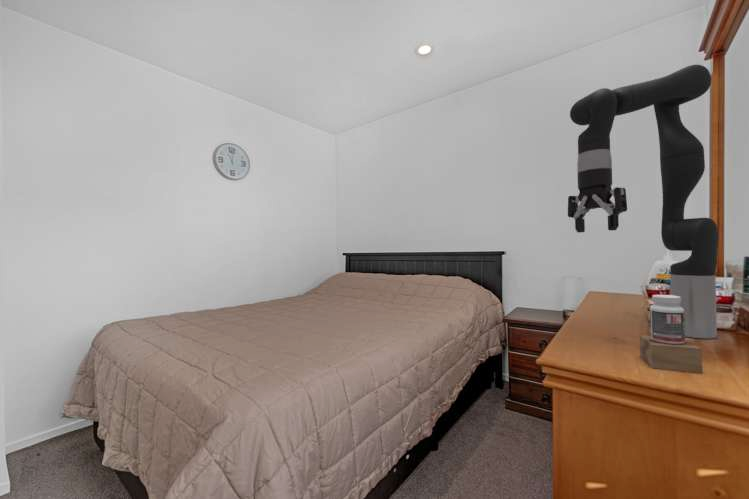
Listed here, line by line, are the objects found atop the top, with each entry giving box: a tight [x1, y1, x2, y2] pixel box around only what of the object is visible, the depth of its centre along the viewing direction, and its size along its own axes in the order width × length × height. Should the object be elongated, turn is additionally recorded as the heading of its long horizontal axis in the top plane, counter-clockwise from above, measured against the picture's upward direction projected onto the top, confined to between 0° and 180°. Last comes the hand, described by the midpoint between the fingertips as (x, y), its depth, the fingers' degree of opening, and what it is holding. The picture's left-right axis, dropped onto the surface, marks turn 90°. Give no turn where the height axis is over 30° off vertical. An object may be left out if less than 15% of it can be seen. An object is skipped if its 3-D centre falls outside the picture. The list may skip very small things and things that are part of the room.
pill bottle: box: [649, 294, 686, 344], centre depth 71 cm, size 6×6×10 cm
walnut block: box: [639, 334, 703, 374], centre depth 71 cm, size 8×8×5 cm
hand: (595, 231), depth 85 cm, fingers open, 8 cm apart
